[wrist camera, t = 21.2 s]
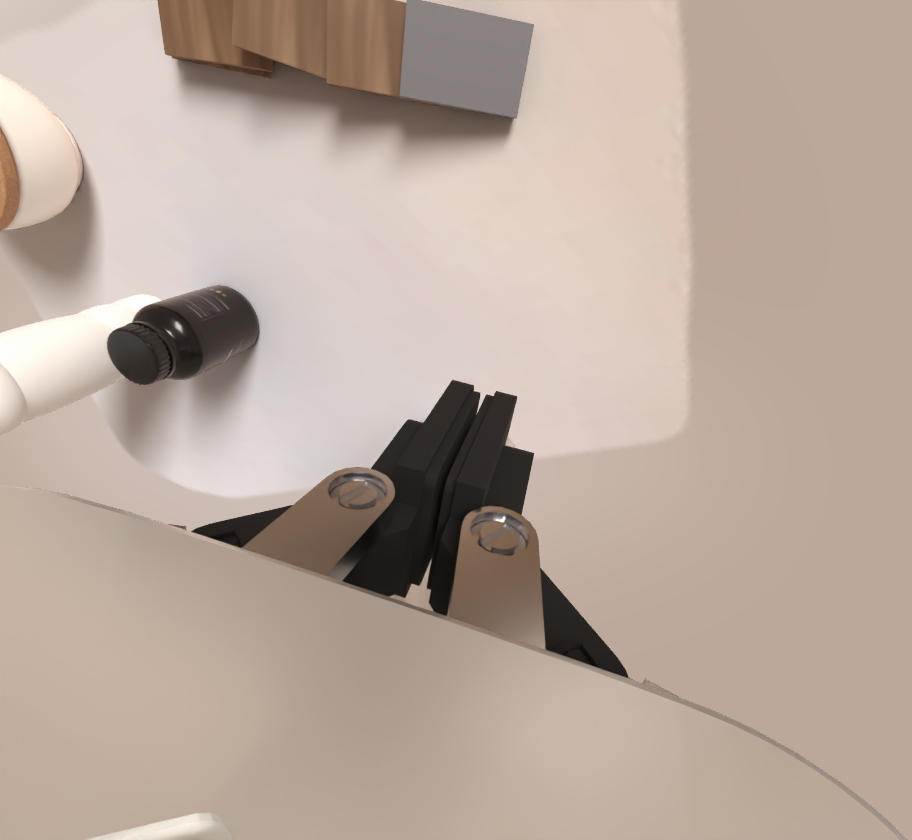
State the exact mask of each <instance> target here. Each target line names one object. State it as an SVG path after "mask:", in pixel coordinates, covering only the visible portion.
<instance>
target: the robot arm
mask: <svg viewBox="0 0 912 840" xmlns="http://www.w3.org/2000/svg"><path fill="white" fill-rule="evenodd" d="M479 400H480V393H479V392H475V391H474V385H470V384H466V383H463V382H459V381H455V380H452V381H451V383H450V384H449V386H448V387H447V389H446V390H445V392H444V393H443V395H442V396H441V398H440V399H439V401H438V402H437V404H436V405H435V407H434V408H433V410H432V411H431V413H430V414H429V416H428V417H427V419H426V420H425V421H424V422H423V423H421V422H418V421H414V420H407V421H406V422H405V424H404V425H403V426H402V428H401V429H400V430H399V432H398V433H397V434H396V436H395V437H394V438H393V440H392V441H391V442H390V444H389V445H388V446H387V448H386V449H385V450H384V452H383V453H382V455H381V456H380V457H379V459H378V460H377V461H376V463H375V464H374V465H373V467H372V468H371V469H369V468H361V467H353V468H345V469H342V470H339V471H336V472H334V473H332V474H331V475H329V476H327V477H326V478H325V479H324V480H323V481H321V482H320V483H319V484H318V485H317V486H315V487H314V488H313V489H312V490H311V491H309V492H308V493H307V494H306V495H305V496H303V497H302V498H301V499H300V500H299V501H297V502H296V503H295V504H294V505H291V506H286V507H282V508H278V509H273V510H269V511H264V512H260V513H255V514H251V515H247V516H243V517H238V518H233V519H229V520H225V521H220V522H216V523H212V524H208V525H205V526H202V527H199V528H196V529H195V530H193V531H191V532H190V531H187V530H186V526H179V525H171V524H165V523H162V522H159V521H156V520H152V519H149V518H146V517H143V516H140V515H136V514H133V513H131V512H127V511H124V510H120V509H116V508H113V507H110V506H106V505H102V504H99V503H95V502H92V501H88V500H85V499H81V498H78V497H74V496H70V495H66V494H61V493H56V492H51V491H46V490H41V489H36V488H26V487H17V486H7V485H0V840H907V839H906V838H905V837H904V836H903V835H902V834H901V833H900V832H899V831H898V830H897V829H896V828H895V827H894V825H892V823H890V822H889V821H888V820H887V819H886V818H884V817H883V816H882V815H881V814H880V813H879V812H878V811H876V810H875V809H874V808H873V807H872V806H871V805H869V804H868V803H867V802H866V801H865V800H863V799H862V798H861V797H859V796H858V795H857V794H856V793H854V792H853V791H851V790H850V789H849V788H848V787H847V786H845V785H844V784H843V783H841V782H840V781H838V780H837V779H835V778H834V777H832V776H831V775H829V774H828V773H826V772H825V771H823V770H822V769H820V768H819V767H817V766H816V765H814V764H813V763H811V762H810V761H809V760H807V759H805V758H804V757H802V756H801V755H800V754H798V753H796V752H794V751H793V750H791V749H789V748H787V747H785V746H784V745H781V744H780V743H778V742H776V741H775V740H773V739H771V738H769V737H767V736H766V735H764V734H762V733H760V732H758V731H757V730H754V729H753V728H751V727H748V726H746V725H744V724H742V723H740V722H737V721H735V720H733V719H731V718H729V717H727V716H724V715H722V714H720V713H718V712H716V711H714V710H711V709H709V708H706V707H703V706H701V705H698V704H695V703H693V702H690V701H688V700H685V699H682V698H680V697H678V696H676V695H674V694H672V693H671V692H669V691H667V690H665V689H663V688H661V687H660V686H658V685H656V684H654V683H652V682H650V681H649V680H647V679H645V680H644V682H643V683H640V682H637V681H635V680H633V679H630V678H629V677H628V675H627V672H626V670H625V668H624V667H623V665H622V664H621V662H620V661H619V659H618V658H617V657H616V655H615V654H614V653H613V652H612V651H611V650H610V648H609V647H608V646H607V645H606V644H605V643H604V641H603V640H602V639H601V638H600V637H599V636H598V634H597V633H596V632H595V631H594V630H593V629H592V627H591V626H590V625H589V624H588V623H587V622H586V620H585V619H584V618H583V617H582V616H581V615H580V614H579V612H578V611H577V610H576V609H575V608H574V606H573V605H572V604H571V603H570V602H569V601H568V599H567V598H566V597H565V596H564V595H563V594H562V593H561V591H560V590H559V589H558V588H557V587H556V586H555V584H554V583H553V582H552V581H551V580H550V578H549V577H548V576H547V575H546V574H545V573H544V571H542V569H541V568H540V557H539V542H538V537H537V533H536V531H535V529H534V528H533V526H532V525H531V523H530V522H529V521H528V520H526V519H525V518H524V517H523V516H522V515H521V514H522V509H523V505H524V500H525V495H526V490H527V485H528V480H529V475H530V471H531V466H532V461H533V456H534V453H532V452H528V451H524V450H521V449H517V448H514V446H513V445H512V443H511V442H510V440H509V439H508V438H507V436H508V432H509V428H510V424H511V420H512V416H513V412H514V408H515V404H516V400H517V396H513V395H509V394H506V393H502V392H498V391H496V392H495V395H494V396H490V395H486V396H485V398H484V401H483V403H482V405H481V407H480V409H479V411H478V413H477V409H478V404H479ZM476 414H477V415H476Z"/></svg>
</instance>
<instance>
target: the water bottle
mask: <svg viewBox="0 0 912 840" xmlns="http://www.w3.org/2000/svg"><path fill="white" fill-rule="evenodd" d="M159 301H162V300H160V299H158V298H156V297H154V296H151V295H146V294H139V295H134V296H130V297H127V298H124V299H121V300H118V301H116V302H114V303H112V304H105V305H99V306H95V307H91V308H88V309H85V310H83V311H81V312H79V313H77V314H75V315H68V316H63V317H58V318H53V319H49V320H45V321H41V322H37V323H33V324H29V325H26V326H22V327H18V328H15V329H11V330H8V331H4V332H1V333H0V435H1V434H4V433H7V432H9V431H11V430H13V429H15V428H16V427H17V426H19V425H20V424H21V423H22V422H25V421H28V420H31V419H34V418H36V417H39V416H42V415H44V414H47V413H50V412H52V411H55V410H57V409H59V408H62V407H64V406H67V405H69V404H71V403H73V402H76V401H78V400H80V399H82V398H84V397H86V396H89V395H91V394H93V393H95V392H97V391H99V390H101V389H103V388H105V387H107V386H109V385H111V384H112V383H114V382H116V381H117V380H120V379H125V377H124V376H123V375H122V374H121V373H120V372H119V371H118V370H117V369H116V367H115V366H114V365H113V363H112V361H111V359H110V356H109V354H108V350H107V341H108V340H107V338H108V337H109V334H110V333H112V331H113V330H116V329H117V328H120V327H123V326H125V325H127V324H129V323H132V320H133V318H134V316H135V315H136V313H137V312H138V311H139V310H140V309H141V308H143V307H144V306H147V305H149V304H152V303H155V302H159Z"/></svg>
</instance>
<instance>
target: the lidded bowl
mask: <svg viewBox="0 0 912 840" xmlns="http://www.w3.org/2000/svg"><path fill="white" fill-rule="evenodd" d="M82 177H83V163H82V158H81V154H80V151H79V148H78V145H77V143H76V141H75V139H74V137H73V135H72V134H71V132H70V131H69V129H68V128H67V126H66V125H65V124H64V123H63V122H62V121H61V120H60V119H59V118H58V117H57V116H56V115H55V114H54V113H52V112H51V111H50V110H49V109H48V108H47V107H46V106H45V105H44V104H43V103H42V102H41V101H40V100H39V99H38V98H37V97H36V96H34V95H33V94H32V93H30V92H29V91H28V90H26V89H25V88H24V87H22V86H21V85H19V84H18V83H16V82H14V81H12V80H10V79H8V78H7V77H5V76H3V75H1V74H0V231H2V230H10V229H17V228H23V227H27V226H31V225H35V224H38V223H41V222H44V221H47V220H49V219H51V218H53V217H54V216H56V215H58V214H59V213H61V212H62V211H63V210H64V209H65V208H66V207H67V206H68V205H69V204H70V202H71V201H72V199H73V197H74V195H75V193H76V190H77V188H78V187H79V186H80V184H81V181H82Z"/></svg>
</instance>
